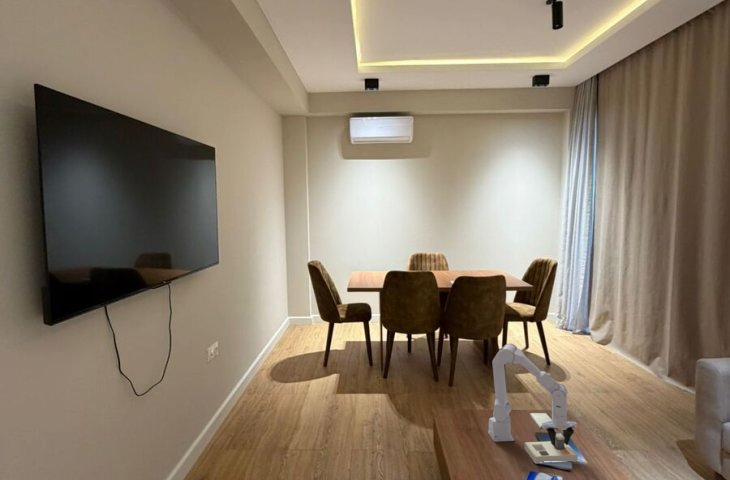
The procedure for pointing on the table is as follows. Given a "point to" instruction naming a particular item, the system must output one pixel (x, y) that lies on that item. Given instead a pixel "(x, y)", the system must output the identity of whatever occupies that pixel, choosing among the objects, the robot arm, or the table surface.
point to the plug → (559, 441)
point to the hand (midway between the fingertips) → (559, 443)
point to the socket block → (549, 452)
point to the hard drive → (540, 418)
